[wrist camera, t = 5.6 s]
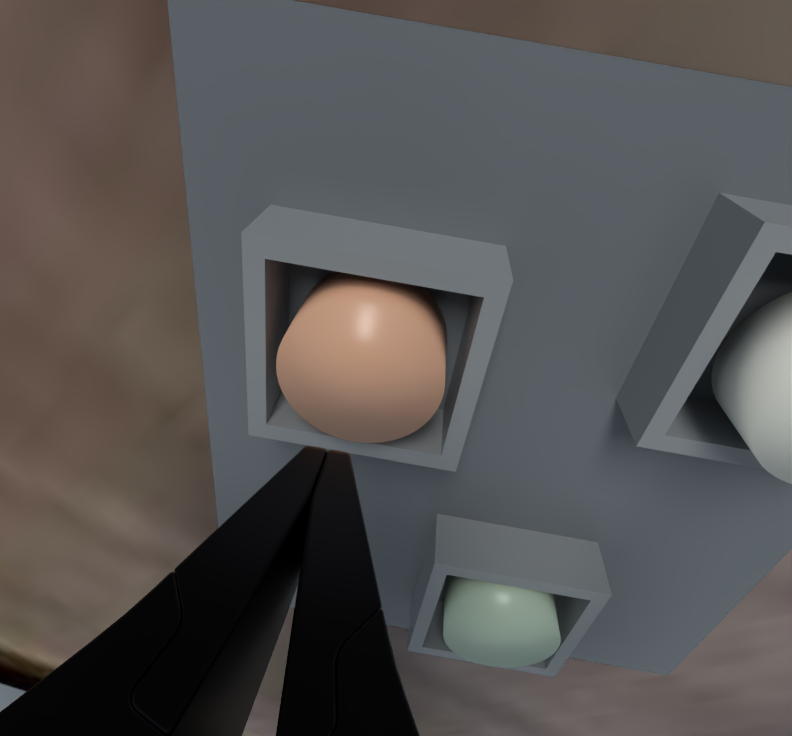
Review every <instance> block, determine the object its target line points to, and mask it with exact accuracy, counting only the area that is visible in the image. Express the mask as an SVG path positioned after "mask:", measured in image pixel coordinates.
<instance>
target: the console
mask: <svg viewBox="0 0 792 736" xmlns="http://www.w3.org/2000/svg"><path fill="white" fill-rule="evenodd" d="M167 2H168V12H169V22H170V33H171V43H172V53H173V64H174V74H175V85H176V95H177V105H178V116H179V126H180V136H181V147H182V157H183V167H184V178H185V188H186V198H187V209H188V219H189V229H190V240H191V250H192V260H193V271H194V281H195V291H196V302H197V312H198V322H199V333H200V343H201V353H202V364H203V374H204V384H205V395H206V405H207V416H208V426H209V436H210V447H211V457H212V467H213V478H214V488H215V498H216V509H217V519H218V528H219V527H220V526H221V525H222V524H223V523H224V522H225V521H226V520H227V519H228V518H229V517H230V516H232V515H233V514H234V513H235V512H236V511H237V510H238V509H239V508H240V507H241V506H242V505H243V504H244V503H245V502H246V501H247V500H249V499H250V498H251V497H252V496H253V495H254V494H255V493H256V492H257V491H258V490H259V489H260V488H261V487H262V486H263V485H265V484H266V483H267V482H268V481H269V480H270V479H271V478H272V477H273V476H274V475H275V474H276V473H277V472H278V471H279V470H280V469H282V468H283V467H284V466H285V465H286V464H287V463H288V462H289V461H290V460H291V459H292V458H293V457H294V456H295V455H296V454H297V453H299V452H300V451H301V450H302V449H303V448H304V447H305V446H308V445H310V446H315V447H321V448H325V449H326V450H327V452H328V451H329V450H331V449H332V450H338V451H343V452H348V453H349V454H350V457H351V461H352V466H353V471H354V476H355V480H356V485H357V490H358V495H359V499H360V504H361V509H362V514H363V518H364V523H365V528H366V533H367V537H368V542H369V547H370V551H371V556H372V561H373V566H374V570H375V575H376V580H377V585H378V589H379V594H380V599H381V604H382V610H383V612H384V617H385V621H386V625H390V626H396V627H401V628H407V629H409V635H408V647H407V651H411V652H416V653H422V654H427V655H433V656H438V657H444V658H450V659H455V660H461V661H466V662H471V661H468V660H466V659H464V658H462V657H460V656H458V655H457V654H455V653H454V652H453V651H452V650H451V649H449V647H448V646H447V645H446V643H445V641H444V637H443V625H444V587H445V579H446V576H447V575H452V576H457V577H463V578H468V579H474V580H479V581H485V582H491V583H496V584H502V585H507V586H513V587H518V588H524V589H530V590H535V591H541V592H546V593H552V594H554V601H555V607H556V613H557V619H558V625H559V631H560V637H561V642H560V646H559V647H558V649H557V650H556V652H555V653H554V654H553V655H551V656H550V657H549V658H547V659H545V660H543V661H541V662H538V663H536V664H532V665H528V666H523V667H513V668H505V669H511V670H516V671H522V672H527V673H533V674H538V675H544V676H549V677H555V676H556V674H557V673H558V671H559V670H560V669H561V667H562V666H563V664H564V663H565V661H566V660H567V659H568V658H573V659H579V660H584V661H590V662H596V663H601V664H607V665H612V666H618V667H623V668H629V669H634V670H640V671H646V672H651V673H657V674H662V675H669V674H670V673H671V672H672V671H673V670H674V669H675V668H676V667H677V666H678V664H679V663H680V662H681V661H682V660H683V659H684V658H685V657H686V656H687V655H688V654H689V653H690V652H691V651H692V650H693V649H694V648H695V647H696V646H697V645H698V644H699V643H700V642H701V641H702V640H703V639H704V638H705V637H706V636H707V635H708V634H709V633H710V632H711V631H712V630H713V629H714V627H715V626H716V625H717V624H718V623H719V622H720V621H721V620H722V619H723V618H724V617H725V616H726V615H727V614H728V613H729V612H730V611H731V610H732V609H733V608H734V607H735V606H736V605H737V604H738V603H739V602H740V601H741V600H742V599H743V598H744V597H745V596H746V595H747V594H748V593H749V592H750V590H751V589H752V588H753V587H754V586H755V585H756V584H757V583H758V582H759V581H760V580H761V579H762V578H763V577H764V576H765V575H766V574H767V573H768V572H769V571H770V570H771V569H772V568H773V567H774V566H775V565H776V564H777V563H778V562H779V561H780V560H781V559H782V558H783V557H784V556H785V555H786V553H787V552H788V551H789V550H790V549H791V548H792V484H790V483H787V482H785V481H782V480H780V479H778V478H776V477H775V476H773V475H772V474H770V473H769V472H768V471H766V470H765V469H764V468H763V466H762V465H761V464H760V463H759V462H758V460H757V459H756V457H755V456H754V454H753V453H752V451H751V450H750V448H749V447H748V445H747V444H746V443H745V441H744V440H743V438H742V437H741V435H740V434H739V432H738V431H737V429H736V428H735V427H734V425H733V424H732V422H731V421H730V419H729V418H728V416H727V415H726V413H725V412H724V410H723V409H722V408H721V406H720V405H719V403H718V401H717V400H716V398H715V395H714V393H713V389H712V383H711V379H712V369H713V365H714V362H715V359H716V356H717V354H718V352H719V350H720V349H721V347H722V345H723V344H724V342H725V341H726V339H727V338H728V337H729V335H730V334H731V333H732V332H733V331H734V330H735V329H736V327H737V326H739V325H740V324H741V323H742V322H743V321H744V320H745V319H746V318H747V317H749V316H750V315H751V314H753V313H754V312H755V311H757V310H758V309H760V308H761V307H763V306H764V305H766V304H768V303H769V302H771V301H773V300H775V299H777V298H779V297H781V296H783V295H785V294H787V293H790V292H792V87H790V86H784V85H779V84H773V83H767V82H761V81H756V80H750V79H744V78H738V77H733V76H727V75H721V74H715V73H710V72H704V71H698V70H692V69H687V68H681V67H675V66H669V65H664V64H658V63H652V62H646V61H641V60H635V59H629V58H623V57H618V56H612V55H606V54H600V53H595V52H589V51H583V50H577V49H572V48H566V47H560V46H554V45H548V44H543V43H537V42H531V41H525V40H520V39H514V38H508V37H502V36H497V35H491V34H485V33H479V32H474V31H468V30H462V29H456V28H451V27H445V26H439V25H433V24H428V23H422V22H416V21H410V20H405V19H399V18H393V17H387V16H382V15H376V14H370V13H364V12H359V11H353V10H347V9H341V8H336V7H330V6H324V5H318V4H312V3H307V2H301V1H295V0H167ZM335 272H342V273H348V274H354V275H359V276H365V277H371V278H376V279H382V280H388V281H393V282H399V283H405V284H410V285H416V286H422V287H423V288H424V289H425V290H427V291H428V293H429V294H430V295H431V296H432V297H433V298H434V300H435V301H436V303H437V304H438V306H439V308H440V310H441V312H442V314H443V317H444V320H445V324H446V330H447V348H446V373H445V389H444V395H443V398H442V401H441V403H440V405H439V407H438V409H437V411H436V412H435V414H434V415H433V416H432V418H431V419H430V420H429V421H428V422H427V423H426V424H425V425H423V426H422V427H421V428H419V429H418V430H416V431H415V432H413V433H411V434H409V435H407V436H404V437H402V438H399V439H396V440H392V441H387V442H379V443H360V442H353V441H348V440H344V439H340V438H337V437H334V436H331V435H329V434H327V433H325V432H322V431H321V430H319V429H317V428H315V427H314V426H312V425H311V424H310V423H308V422H307V421H305V420H304V419H303V418H302V417H301V416H300V415H299V414H298V413H297V412H296V411H295V410H294V409H293V408H292V407H291V405H290V404H289V402H288V401H287V400H286V398H285V396H284V394H283V392H282V390H281V387H280V385H279V382H278V377H277V372H276V359H277V353H278V349H279V346H280V344H281V341H282V339H283V337H284V335H285V334H286V332H287V330H288V328H289V326H290V325H291V323H292V321H293V319H294V318H295V316H296V314H297V312H298V310H299V309H300V307H301V305H302V303H303V302H304V300H305V298H306V297H307V295H308V294H309V292H310V291H311V290H312V289H313V287H314V286H315V285H316V284H317V283H319V282H320V281H321V280H322V279H324V278H325V277H327V276H329V275H330V274H332V273H335ZM297 588H298V586H297ZM297 588H296V591H295V594H294V596H293V599H292V602H291V604H290V608H295V602H296V595H297ZM472 663H473V662H472ZM499 668H500V667H499Z"/></svg>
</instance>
